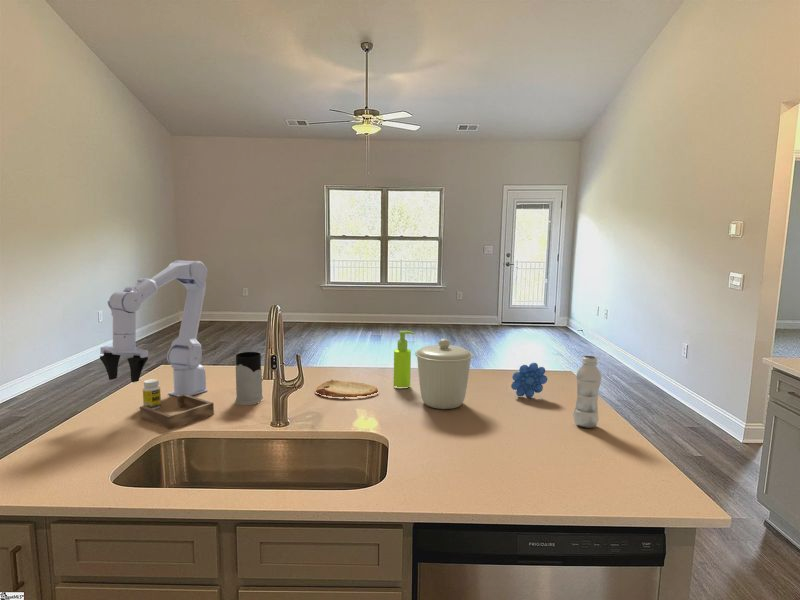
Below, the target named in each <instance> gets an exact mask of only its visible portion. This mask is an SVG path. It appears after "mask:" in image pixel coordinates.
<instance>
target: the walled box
mask: <svg viewBox="0 0 800 600" xmlns="http://www.w3.org/2000/svg"><path fill="white" fill-rule="evenodd" d="M176 397H177V398H176V399H177V408H178V407H179V409H181V408H187V407H188V408H187V409H186V410H183V411H178V412H176V413H173V414H172V413H171V414H168V413H165V412H162V411H159V410H158V409H151V405H149V404H148V405H145V406H144V405H142V406H139V410H140V411H139V412H140V420H144V421H145V422H149V423H152V424H153V425H156V426H158V427H162V428H165V429H168V430H173V429H174V428H178V427H181V426H183V425H187V424H190V423H192V422H196V421H199V420H201V419H204V418H207V417H211V416H213V415H215V412H214V411H215V408H214V402H211V401H208V400H205V399H202V398H199V397H195V396H194V395H192V396H189V395H186V394H183V395H180V396H176ZM184 406H185V407H184ZM190 408H191V409H190Z"/></svg>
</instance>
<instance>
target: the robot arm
mask: <svg viewBox="0 0 800 600" xmlns="http://www.w3.org/2000/svg"><path fill="white" fill-rule="evenodd" d="M205 265H206V264H204V263H203V261H201V260H180V259H176V260H175V261H173V262H171V263H169V264H168V266H167V267H166V268H164V269H163V270H161V271H159V273H157V274H155V275H154V276H152V277H151V278H148V277H147V278H145V277H142V278H141V277H140V278H137V281H136V282H135V283H134V284H132V285H130V286H125V287H124V289H123V291H121V290H120V291H119V290H118V291H115V292H113V293H112V294H111V296H110V297H109V299H108V301H107V306H108V308H109V309H110V311H111V316H112V346H100V354H102V355H100V356H99V359H100V361H101V362H102V364H103V366H104V367H105V370H106V373H107V376H108V379H109V380H108V381H112V380H115V379H116V380H117V378H118V371H119V369H118V368H119V367H118V366H119V363H120V360H121V359H120V358H121V356H127V357H128V358H127V362H128V364H129V369H130V381H131V383H136V382H139V381H140V378H141V374H142V371H143V368H144V366H145V364H146V363H147V362H148V360H149V350H148V349H144V348H139V347H137V346H136V343H137V342H136V332H137V331H136V325H137V322H136V321H137V319H136V317H137V313H136V312H137V311H139V310H140V308H141V307H142V306H141V305H142V304H143V303H144V302H145V301H147V300H149V299H151V297H153V296H155V295H157V294H158V289H159V288H161V287H162V286H164V285H167V284H168V283H170V282H172V281H174V280H176V281H177V282H179V283H180V284H181V285H182V286H184V288H185V289H186V292H187V293H186V298H185V302H184V308H183V312H182V316H181V322H180V327H179V332H178V337H176V338H175V339H174V340H172V342H171V345H170V348H169V350H167V353H166V359H167V363H169V364H170V366H171V368H172V373H173V374H172V375H173V390H172V391H169V392H168V394H169V395H171V396H174V397H177V396H180V395H183V394H186V395H189V396H195V395H198V394H200V393H201V394H202V393H205V392H208V389H207V382H206V380H207V379H206V378H207V377H206V369H205V367H204V366H203V365H202V364H201V362H202V359H203V355H202V344H201V343H200V342H199V341H198V338H197V336H198V332H199V326H200V320H201V317H202V316H201V315H202V310H203V306H204V300H205V295H206V291H207V287H206V285H207V283H206V281H207V276H208V271H209V270H208V268H207V267H206V266H205Z"/></svg>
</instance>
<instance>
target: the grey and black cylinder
mask: <svg viewBox="0 0 800 600" xmlns="http://www.w3.org/2000/svg"><path fill="white" fill-rule="evenodd" d="M264 355H265V352H263V353H260V352H258V351H243V352H239V353H237V354H235V387H236V388H235V390H236V392H235V393H236V398H235V402H236V404H238V405H240V404H241V406H250V405H251V404H253V405H256V404H255V403H258V402H260V401H261V400H262V399H263V398H264V397H263V381H264V379H262V377H263V375H262V373H263V371H262V362H261V361H262V357H263V356H264ZM260 403H261V402H260ZM258 404H259V403H258Z"/></svg>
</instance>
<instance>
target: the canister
mask: <svg viewBox="0 0 800 600" xmlns="http://www.w3.org/2000/svg"><path fill="white" fill-rule="evenodd" d="M414 356H416V359H417V369H418V370H417V371H418V380H419V389H420V390H419V391H420V397H421V401H422V402H423V403H424V405H426V406H428V407H430V408H434V409H437V410H438V409H439V410H452V409H456V408H458V407H461V405H463V403H464V401H465V399H466V394H467V387H468V380H469V374H470V367H471V361H472V360H471V359H472V358H473V357H474V354H473V352H471V351H469V350H468V349H466V348H464V347H462V346H457V345H451V343H450V340H449V339H447V338H441V339H440V340H439V341H438V344H432V345H431V344H430V345H426V346H423V347H421V348H419V349H418V350H416V351H415V353H414Z"/></svg>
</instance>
